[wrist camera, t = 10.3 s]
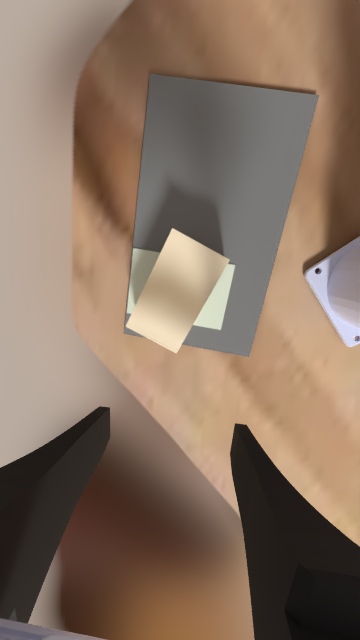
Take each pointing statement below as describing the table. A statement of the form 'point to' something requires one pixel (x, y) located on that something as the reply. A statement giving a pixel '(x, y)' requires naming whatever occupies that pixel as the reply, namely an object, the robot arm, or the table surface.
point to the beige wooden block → (176, 290)
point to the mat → (218, 192)
